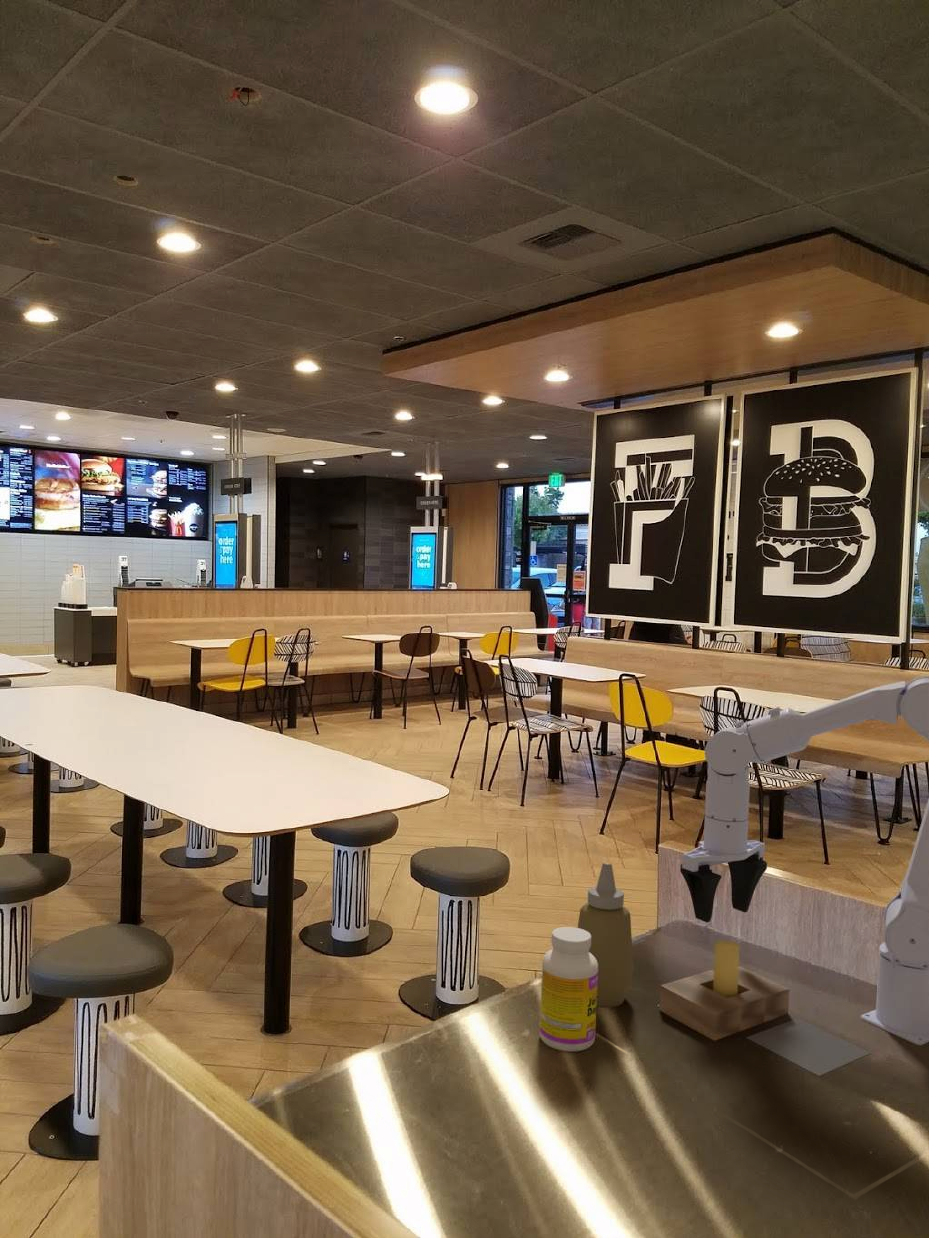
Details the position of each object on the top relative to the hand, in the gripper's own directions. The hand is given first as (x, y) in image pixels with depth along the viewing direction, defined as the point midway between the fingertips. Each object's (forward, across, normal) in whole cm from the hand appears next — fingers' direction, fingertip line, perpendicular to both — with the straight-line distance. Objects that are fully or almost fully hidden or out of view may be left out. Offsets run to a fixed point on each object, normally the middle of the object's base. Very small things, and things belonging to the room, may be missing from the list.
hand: (721, 914), depth 126 cm
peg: (+10, +6, +6) cm, 13 cm away
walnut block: (+10, +6, +6) cm, 13 cm away
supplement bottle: (+10, +28, +1) cm, 30 cm away
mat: (+10, +4, +17) cm, 20 cm away
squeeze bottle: (+10, +17, -5) cm, 20 cm away
